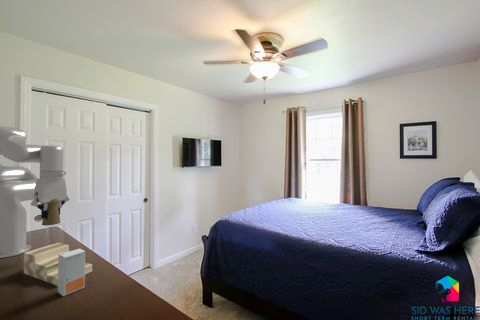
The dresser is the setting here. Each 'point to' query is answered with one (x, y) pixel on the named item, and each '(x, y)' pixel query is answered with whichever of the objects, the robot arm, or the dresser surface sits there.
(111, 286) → the dresser surface
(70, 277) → the skincare box
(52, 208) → the cork
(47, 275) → the step stand
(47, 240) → the dresser surface
